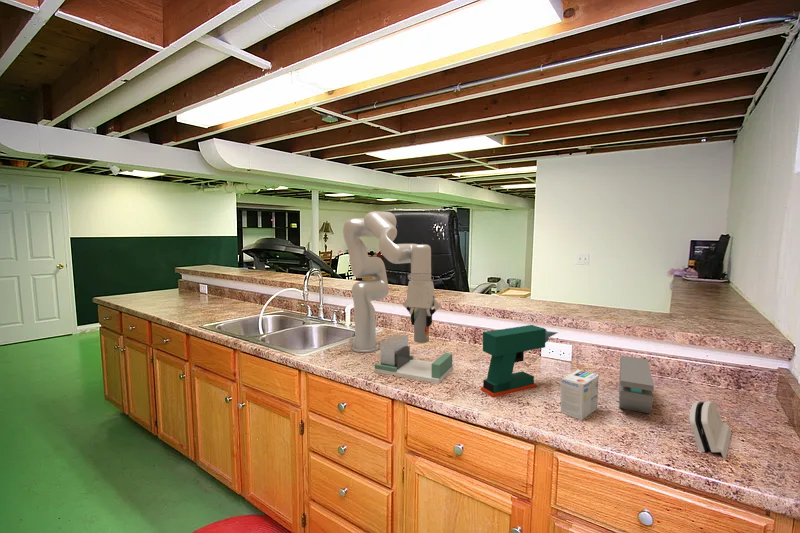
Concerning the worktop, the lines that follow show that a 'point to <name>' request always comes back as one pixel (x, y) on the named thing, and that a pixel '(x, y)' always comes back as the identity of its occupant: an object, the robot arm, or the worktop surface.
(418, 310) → the lotion bottle
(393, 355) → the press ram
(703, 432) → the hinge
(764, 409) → the worktop surface
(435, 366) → the frame
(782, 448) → the worktop surface
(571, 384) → the light bulb box
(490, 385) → the power tool
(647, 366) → the gray lidded box
